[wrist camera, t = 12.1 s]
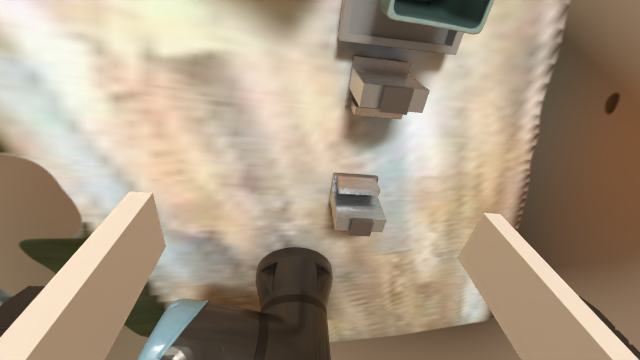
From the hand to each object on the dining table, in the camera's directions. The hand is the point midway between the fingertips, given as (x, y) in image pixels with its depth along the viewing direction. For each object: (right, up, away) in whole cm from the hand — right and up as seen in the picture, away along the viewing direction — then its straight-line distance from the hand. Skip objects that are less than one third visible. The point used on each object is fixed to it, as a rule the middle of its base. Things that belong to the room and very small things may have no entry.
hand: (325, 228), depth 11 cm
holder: (+6, +8, +29) cm, 30 cm away
